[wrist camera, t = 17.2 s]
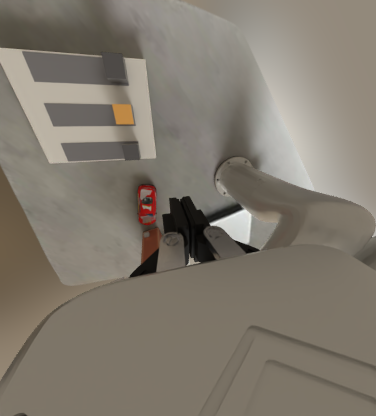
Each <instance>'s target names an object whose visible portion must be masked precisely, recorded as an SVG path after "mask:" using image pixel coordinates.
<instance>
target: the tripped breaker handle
mask: <svg viewBox="0 0 376 416" xmlns="http://www.w3.org/2000/svg"><path fill="white" fill-rule="evenodd" d="M112 106H113V111H114V115H115V120H116V124H135V118H134V112H133V106H132V105H131V104H112Z"/></svg>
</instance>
